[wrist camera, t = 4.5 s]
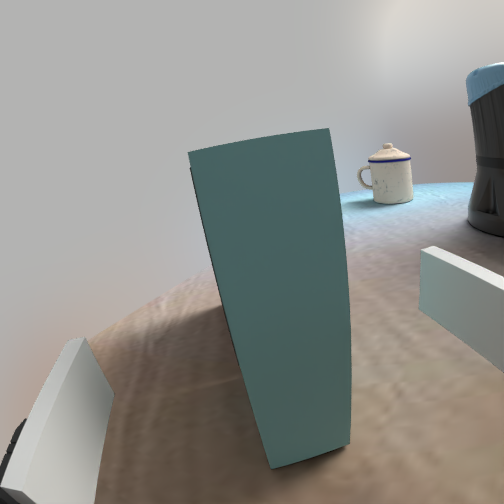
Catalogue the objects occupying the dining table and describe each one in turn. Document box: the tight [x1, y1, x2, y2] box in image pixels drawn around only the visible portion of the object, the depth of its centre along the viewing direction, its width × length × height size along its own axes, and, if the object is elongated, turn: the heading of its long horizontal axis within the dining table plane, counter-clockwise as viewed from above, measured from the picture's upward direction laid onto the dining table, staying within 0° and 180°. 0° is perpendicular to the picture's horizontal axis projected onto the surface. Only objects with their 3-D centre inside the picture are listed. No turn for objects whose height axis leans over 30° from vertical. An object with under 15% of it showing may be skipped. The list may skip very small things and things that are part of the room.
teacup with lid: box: [357, 143, 413, 204], centre depth 58 cm, size 12×9×12 cm
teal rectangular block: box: [188, 128, 352, 469], centre depth 14 cm, size 8×4×14 cm, turn 10°
